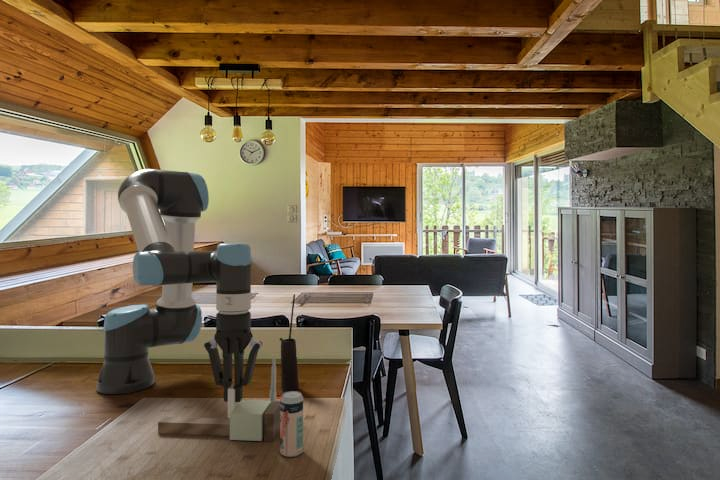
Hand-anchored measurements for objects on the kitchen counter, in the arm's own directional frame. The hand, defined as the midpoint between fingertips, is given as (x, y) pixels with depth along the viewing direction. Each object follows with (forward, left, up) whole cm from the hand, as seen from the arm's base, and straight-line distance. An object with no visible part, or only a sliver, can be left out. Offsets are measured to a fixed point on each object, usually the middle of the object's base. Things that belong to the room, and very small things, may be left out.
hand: (233, 415), depth 98 cm
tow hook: (+6, +16, -4) cm, 18 cm away
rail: (-4, 0, -4) cm, 5 cm away
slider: (+4, 0, -4) cm, 6 cm away
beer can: (+15, -8, -4) cm, 18 cm away
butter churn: (+5, +29, -4) cm, 30 cm away
